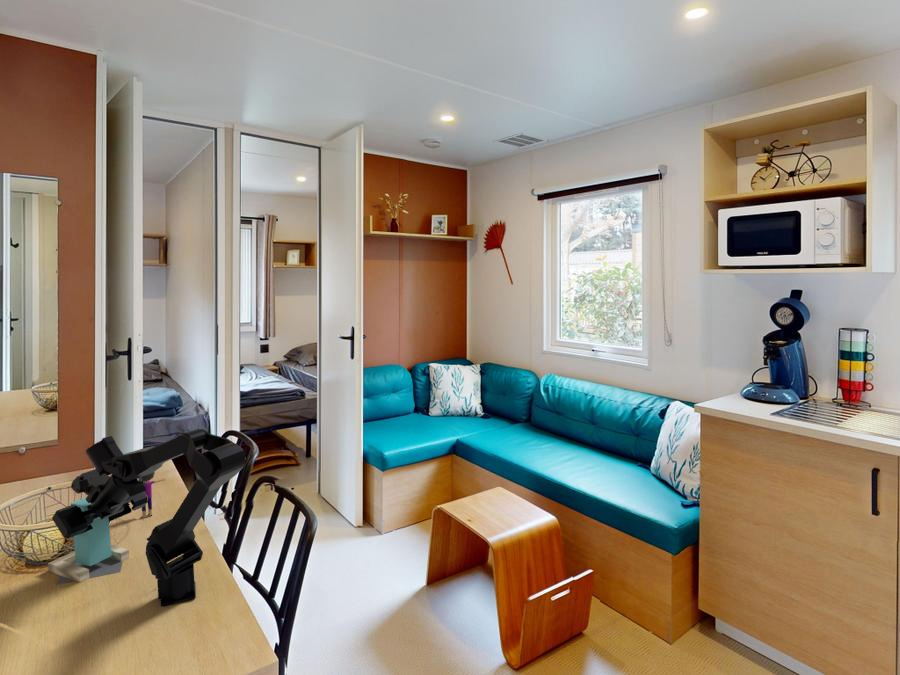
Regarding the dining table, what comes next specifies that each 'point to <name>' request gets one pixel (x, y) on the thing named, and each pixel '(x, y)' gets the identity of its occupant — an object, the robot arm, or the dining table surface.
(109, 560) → the mat
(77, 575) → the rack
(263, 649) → the dining table surface
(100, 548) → the teal post
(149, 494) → the toy
